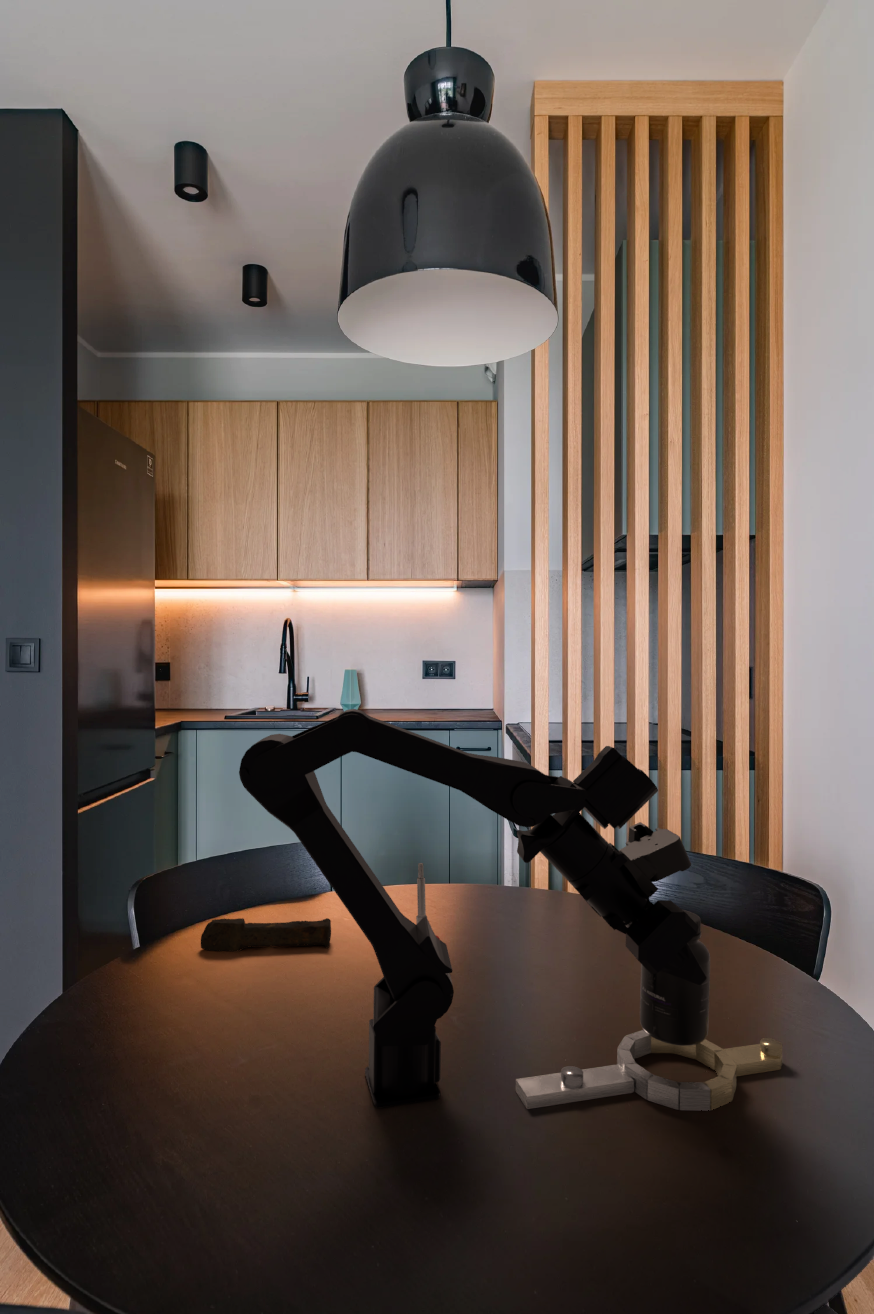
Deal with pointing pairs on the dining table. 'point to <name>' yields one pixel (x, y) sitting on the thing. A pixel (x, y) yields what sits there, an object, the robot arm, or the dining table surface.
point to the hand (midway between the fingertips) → (687, 966)
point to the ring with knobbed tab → (727, 1063)
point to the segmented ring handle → (614, 1082)
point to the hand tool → (263, 934)
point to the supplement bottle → (677, 1001)
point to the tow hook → (421, 894)
